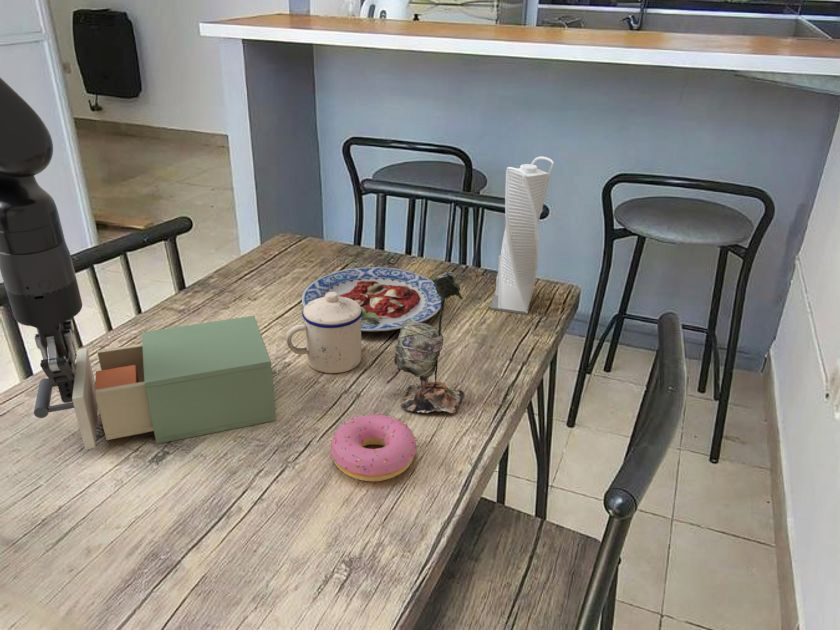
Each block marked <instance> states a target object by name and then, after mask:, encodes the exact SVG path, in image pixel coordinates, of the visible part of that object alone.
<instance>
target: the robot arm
mask: <svg viewBox="0 0 840 630" xmlns="http://www.w3.org/2000/svg"><path fill="white" fill-rule="evenodd" d="M53 143H54V142H53V138H52V135H51V133H50V131H49V129H48V127H47V126H46V124H45V122H44V120H42V118H41V117H40V115H39V114H38V113H37V112H36V110H35V109H33V107H31V106H30V104H29V103H27V101H26V100H25V99H23V97H22V96H20V94H18V92H17V91H15V89H13V88H12V87H11V86H10V85H9V84H8V83H7V82H6V81H5V80H4V79H2V77H0V275H1V277H2V281H3V284H4V288H5V291H6V295H7V298H8V302H9V305H10V308H11V312H12V316H13V318H14V320H15V321H16V322H17V323H19V324H20V325H22V326H27V327H32V328H35V329H36V332H37V333H34V341H35V345H36V348H37V349H38V350H39V351H40V353H41V356H42V359H40V363H39V365H40V368H41V369H42V371H43V372H44V374H45V375H46V377H47V378H48V379H49V380H50V381H51V383H57V385H58V386H57V388H58V392H59V395H60V399H61V400H60V401H61V402H62V403H63V404H65V403H71V402H73V400H72V396H73V387H74V377H75V375H76V367H77V364H76V359H77V345H76V340H75V337H74V332H75V331H74V330H75V327H74V323H73V318H75V317H76V316H77V315H78V314H79V313H80V312H81V311H82V309H83V301H82V297H81V296H82V295H81V293H80V292H81V291H80V288H79V284H78V279H77V275H76V271H75V268H74V262H73V259H72V256H71V252H70V250H69V247H68V245H67V242H66V239H65V233H64V231H63V225H62V222H61V218H60V213H59V211H58V207H57V204H56V202H55V200H54V198H53V197H52V195H50V193H49V192H48V191H46V190H45V189H44V188H42V187H41V186H40V185H39V183H38V181H37V178H36V176H37V175H39V174H40V173H42V172H43V171H45V170H46V169H47V168H48V166H49V165H50V163H51V162H52V159H53V154H54V144H53Z"/></svg>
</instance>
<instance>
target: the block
mask: <svg viewBox="0 0 840 630" xmlns="http://www.w3.org/2000/svg"><path fill="white" fill-rule="evenodd" d="M94 379H95V390H97V389H103V388H109V387H115V386H121V385H127V384H133V383H139V379H138V374H137V369H136V365H131V366H125V367H119V368H113V369H107V370H101V369H100V370H96V371H95V378H94Z"/></svg>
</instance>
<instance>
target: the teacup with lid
mask: <svg viewBox="0 0 840 630" xmlns="http://www.w3.org/2000/svg"><path fill="white" fill-rule="evenodd" d="M301 315H302V318H303V320H304V321H303V322H304V323H300V324H296V325H294V326H292V327H290V328H289V329H288V330H287V332H286V334H285V343H286V345H287V348H288V349H289V350H290V351H291V352H292V353H294V354H296V355H306V362H307V364H308V366H309V367H310V368H312V369H313V370H315V371H317V372H320V373H325V374H339V373H345V372H348V371H351V370H353V369H354V368H356V367H357V366H358V365H359V364H361V361H362V357H363V356H362V331H361V316H362V309H361V307H360V305H359V304H358V303H357V302H356V301H354V300H352V299H349V298H346V297H340V296H338V294H337V293H336V292H328V293H327V294H326V295H325V297H322V298H318V299H315V300H313V301H311V302H309V303H308V304H307V305H306V306H305V308H304V307H303V310H302V314H301ZM301 331H304V334H305V336H304V337H305V347H296V346H295V345H294V344H293V343H292V338H293V336H294V335H295V334H296V333H298V332H301Z"/></svg>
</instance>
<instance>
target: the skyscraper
mask: <svg viewBox="0 0 840 630" xmlns="http://www.w3.org/2000/svg"><path fill="white" fill-rule="evenodd" d="M540 160H542V161H543V160H544V161H548V162H549V163H551V164H550V166H549V169H548V171H544V170H541V169H539V168H538V166H537V165H535V163H536V162H538V161H540ZM554 163H555V162H554V160H552V159H551V158H549V157H547V156H541V155H540V156H537V157H535V158H534V159H533V160H532V161H531V163H523V164H520V166H519V167H514V166H507V167H506V168H505V186H504V187H505V188H504V189H505V191H504V212H505V213H504V215H505V217H504V218H505V228H504V232H503V238H502V242H501V252H500V254H499V255H498V270H497V275H496V277H495V280H496V281H495V282H496V283H495V284H496V287H495V291H494V295H493V297H492V300H491V302H490V305H489V310H491V311H498V312H506V313H513V314H522V315H528V314H529V310H530V306H531V303H532V298H533V294H534V290H535V289H534V288H535V284H536V278H537V272H538V267H539V256H540V234H539V233H540V232H539V225H538V224H539V221H540V219H541V214H542V212H543V207H544V205H545V204H544V203H545V199H546V196H547V191H548V186H549V182H550V177H551V176H550V175H551V172H552V169H553V167H554Z"/></svg>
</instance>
